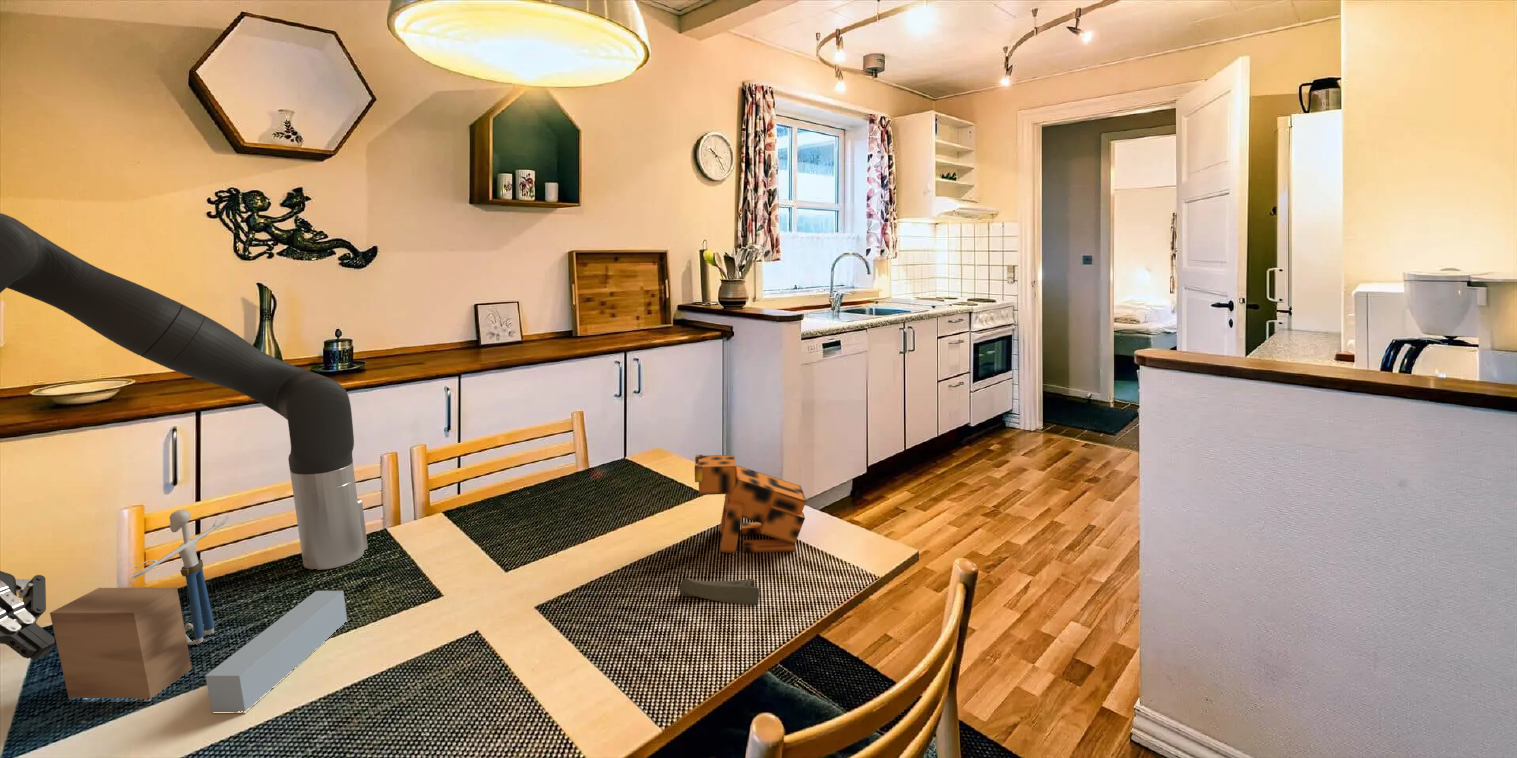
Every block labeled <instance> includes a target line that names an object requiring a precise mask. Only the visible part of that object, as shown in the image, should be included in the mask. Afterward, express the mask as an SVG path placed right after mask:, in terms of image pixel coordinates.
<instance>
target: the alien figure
mask: <svg viewBox="0 0 1517 758" xmlns="http://www.w3.org/2000/svg"><path fill="white" fill-rule="evenodd" d="M191 515H192V514H191V512H189V511H187V509H186V510H185V509H179V510H176V511H173V512H171V514H170V515H169V517H168V518H169V521H170V523H169V529H170V531H171V532H172V533H177V532H179V530H180V529H181V530H182V532H181V533H182V538H183V542H182V544H181V545H179V546H178V547H177V548H175V549H173V550H172V551H171V552H169V553H167V554H166V555H164V556H163V557H161V558H160V559H159V560H157V559H153V560H146V561H144V562H141V563H139V564H138V565H137V566H135V567H133V569H132V570H131V571H133V570H134V569H137V568H138V567H140V566H141V565H144V564H146V563H151V564H150V565H148V566H147V567H144V568H142V569H139V570H137V571H135V572H133V573H131V574H130V577H129V579H130V580H133V579H137V578H138V577H140V576H143V575H145V574H146V573H148V572H150V571H152V570H154V568H156V567H157V566H158V565H159V564H161V563H164V562H166V561H168V560H170V559H172V558H174V557H175V556H176V555H179V556H180V558H181V560H182V562H183V566H182V567H181V569H180V574H181V576H182V577H185V581H186V588H187V592H188V593H187V594H188V598H189V610H190V613H191V621H192V623H189V622H188V623H186V624H184V628H185V634H186V632H187V630H189V629H192V631H193V636H194V639H193V641H192V640H191V639H190V638H189V636H188V635H187V634H186V639H187V644H192V643H194V644H196V643H197V644H198V643H201V642H203V640H204V637H205V636H204V634H206V635H208V634H211V633H213V634H214V633H215V621H214V617H213V611H212V607H211V603H210V602H211V601H210V598H209V592H208V589H207V588H208V587H207V584H206V579H205V575H204V568H203V567H204V564H203V563H204V562H203V559H199V557H198V555H197V545H198V541H200V540H203V538H206V537H207V536H208V535H209V534H211V532H213V531H215V530H217V529H219V528H221V527H222V526H224V525H225V524H226V523H227V521H228V520H229V519H230V516H229V515H227V516H225V518H224V519H223V520H222V521H220V522H218V519H220V518H221V517H222V515H220V516H217V518H216V519H215V522H214V523H213V525H212V527H211V528H209V529H207V530H206V531H204V532H202V533H201V534H199V535H197V536H195V537H192V538H191V536H190V530H189V525H188V522H189V521H190V519H191ZM228 516H229V517H228ZM217 522H218V523H217ZM203 643H204V642H203ZM201 644H202V643H201Z"/></svg>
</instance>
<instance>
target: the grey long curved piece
mask: <svg viewBox="0 0 1517 758" xmlns="http://www.w3.org/2000/svg"><path fill="white" fill-rule="evenodd" d="M678 585H679V586H678V591H679V593H680V594H681V596H683V597H696V598H697V597H698V598H702V599H706V600H710V601H714V602H715V601H716V602H721V603H728V604H739V605H752V606H753V605H758V604H759V600H760V595H761V594H760V588H759V587H758V586H756V585H755V579H754V578H749V579H747V578H746V579H739V580H738V579H737V580H715V581H714V580H711V581H710V580H697V579H694V578H689V577H685V578H684V579H683V580H682V581H681V583H680V584H678Z"/></svg>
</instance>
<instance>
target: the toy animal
mask: <svg viewBox="0 0 1517 758" xmlns="http://www.w3.org/2000/svg"><path fill="white" fill-rule="evenodd" d="M694 460H695V461H694V462H695V463H694V483H698V495H699V496H706V495H707V496H708V495H709V496H711V495H713V496H714V495H724V502H723V508H722V513H721V520H720V527H719V534H720V535H721V539H720V540H721V541H720V544H719V545H720V553H726V554H736V550H737V544H738V540H739V533H740V528H741V535H743V536H744V535H745V536H748V535H763V536H767V537H770V538H766V539H765V538H763V539H761V538H760V539H743V540H742V542H743V546H742V547H743V553H744V554H750V553H751V554H753V553H754V554H755V553H757V554H758V553H759V554H760V553H782V552H795V551H796V550H795V548H796V542H797V541H798V538H799V535H800V533H801V529H802V527H803V525H804V522H805V520H806V517H805V514H804V512H803V511H804V508H805V505H806V503H807V499H806V496H805V494H804V491H803V488H802V486H801V485H799V484H796V483H793V482H789V481H786V480H784V479H780V478H777V477H774V476H772V475H768V474H765V473H762V472H758V471H755V470H753V469H750V468H746V467H743V466H740V465H736V460H735V455H734V454H723V455H722V454H721V455H720V454H715V455H703V454H695V459H694ZM742 518H743V519H746V520H750V521H753V522H741V521H742Z"/></svg>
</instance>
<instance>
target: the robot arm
mask: <svg viewBox="0 0 1517 758" xmlns="http://www.w3.org/2000/svg"><path fill="white" fill-rule="evenodd" d="M6 289H9V290H11V291H14V292H17V293H20V294H23V295H25V296H27V297H30V298H32V299H35V300H37V301H40V302H43V303H45V304H47V305H49V306H51V307H54V308H56V309H58V310H60V311H62V312H64V313H66V314H67V315H69V316H71V317H73V318H74V319H75V320H76V321H79V322H80V323H82V324H84V325H85V326H87V327H88V328H89V329H91V330H93V331H94V332H96V333H98V334H99V335H100V336H102V337H104V338H106V339H108V340H109V341H111V342H113V343H114V344H116V345H119V346H120V347H122V348H124V349H126V350H128V351H129V352H132V353H133V354H135V355H137V356H140V357H142V358H144V359H146V360H149V361H151V362H153V363H155V364H157V365H160V366H162V367H165V368H166V369H169V370H172V371H175V372H178V373H179V374H182V375H185V376H188V377H191V378H193V379H197V380H201V381H202V382H203V381H204V382H207V383H211V384H214V385H217V386H221V387H224V388H228V389H231V390H233V391H235V392H238V393H240V394H242V395H245V396H247V397H248V398H251V399H253V400H254V401H256V402H258V403H260V404H262V405H263V406H264V407H265V406H266V408H269V409H270V410H272V411H274V413H275V412H276V414H279V415H280V416H281V417H283V418H284V419H286V420H287V425H288V432H289V434H288V435H289V440H290V441H289V442H290V443H289V444H290V453H289V455H288V466H289V473H290V480H291V487H292V494H293V501H294V507H295V508H294V509H295V515H296V522H297V529H298V535H299V536H298V537H299V543H300V551H301V557H302V558H301V559H302V565H303V567H304V568H306V569H308V570H313V569H317V571H321V570H322V571H323V570H329V569H335V568H340V567H342V566H346V565H348V564H351V563H353V562H355V561H357V560H358V559H360V558H362V556H363V555H364V554H365V550H368V549H369V546H368V540H367V539H368V537H367V531H366V529H367V528H366V521H365V513H364V507H363V506H364V505H363V500H362V499H360V498H358V493H357V483H356V477H355V468H354V461H353V460H354V459H353V452H354V446H355V440H354V437H355V435H354V425H353V413H352V405H351V399H350V396H349V393H348V392H347V390H346V388H345V387H344V386H343V385H342V384H341V383H339V382H338V381H336V380H334V379H332V378H329V377H327V376H325V375H322V374H319V373H317V372H312V371H309V370H306V369H304V368H301V367H298V366H296V365H293V364H291V363H289V362H286V361H284V360H281V359H279V358H277V357H274V356H272V355H271V354H270V355H269V354H267V353H266V352H264V351H262V350H260V349H258V348H257V347H255V345H252V344H251V343H250V342H248V341H247V340H246V339H244V338H243V337H241V336H239V335H238V334H237V333H235V332H233V331H232V330H231V329H229V328H227V327H226V326H224V325H222V324H221V323H219V322H218V321H216V320H214V319H212V318H210V317H209V316H206V315H205V314H202V313H201V312H199V311H197V310H194V309H193V308H191V307H189V306H186V304H183V303H181V302H179V301H176V300H174V299H172V298H170V297H168V296H166V295H163V294H161V293H159V292H157V291H156V290H155V291H154V290H152V289H150V288H147V287H145V286H143V285H140V284H138V283H136V282H133V281H131V280H129V279H126V278H123V277H121V276H118V275H115V274H113V273H111V272H109V271H106V270H104V269H101V268H99V267H98V266H95V265H94V264H91V263H89V262H88V261H85V260H83V259H81V258H80V257H78V256H77V255H74V254H73V253H71V252H70V251H68V250H66V249H64V248H63V247H62V246H59V245H58V244H56V243H55V242H53V241H51V240H50V239H48V238H47V237H44V236H43V235H41V234H40V233H38V232H37V231H35V230H34V229H32V228H30V227H29V226H27V225H26V224H24V222H21V221H20V220H18V219H16V218H14V217H13V216H9V215H8V214H5V213H1V212H0V294H1V293H2V292H3V291H4V290H6ZM46 587H47V585H46V576H44V575H42V574H36V575H34V576H33V577H31V578H29V579H28V578H16V576H14V575H13V574H11V573H9V572H5V571H2V570H0V644H2V645H7V646H8V647H9V648H10V649H12V650H13V651H15V653H17V654H19V656H21V657H22V658H25V659H31V660H32V661H36V660H39V659H40V658H42V657H43V656H45V655H47V654H49V653H50V652H51V651H52V650H53V648H54V647H56V639H55V636H53V635H52V634H50V633H49V632H48V631H47V630H45V629H44V628H42V626H40V625H39V624H38V623H37V622H38V620H39V618H40V617H41V616H42V615H43V614H44V613H45V612H46V610H47V593H46V592H47V591H46V589H47V588H46ZM21 599H22V600H21Z"/></svg>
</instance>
